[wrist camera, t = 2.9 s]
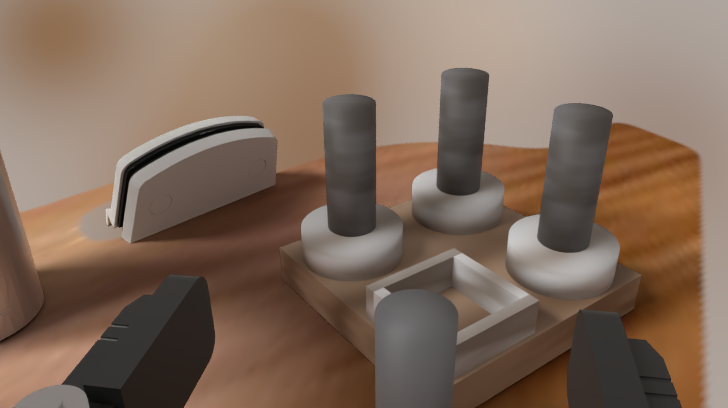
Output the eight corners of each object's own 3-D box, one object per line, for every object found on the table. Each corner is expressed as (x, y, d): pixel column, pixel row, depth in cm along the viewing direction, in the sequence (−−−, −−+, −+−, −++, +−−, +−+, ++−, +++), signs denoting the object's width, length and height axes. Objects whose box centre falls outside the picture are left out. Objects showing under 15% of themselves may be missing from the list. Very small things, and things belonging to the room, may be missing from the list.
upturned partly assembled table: (282, 279, 51) (266, 99, 44) (456, 211, 60) (466, 55, 53) (442, 428, 37) (456, 201, 30) (633, 308, 47) (678, 116, 40)
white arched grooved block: (248, 169, 69) (260, 93, 63) (275, 195, 67) (289, 119, 61) (102, 224, 59) (97, 140, 52) (128, 257, 57) (126, 173, 50)
